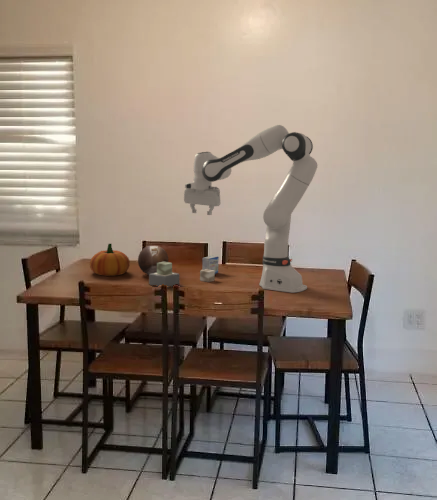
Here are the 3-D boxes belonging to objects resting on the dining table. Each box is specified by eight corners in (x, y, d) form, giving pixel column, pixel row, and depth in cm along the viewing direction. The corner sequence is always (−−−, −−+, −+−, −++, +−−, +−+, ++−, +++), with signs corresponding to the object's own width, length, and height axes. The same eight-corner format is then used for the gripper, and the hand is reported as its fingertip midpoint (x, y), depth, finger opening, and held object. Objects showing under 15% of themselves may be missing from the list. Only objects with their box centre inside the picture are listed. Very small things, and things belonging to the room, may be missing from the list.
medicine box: (208, 275, 306) (209, 258, 305) (202, 274, 309) (202, 257, 307) (218, 273, 313) (218, 256, 311) (211, 271, 315) (212, 255, 314)
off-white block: (214, 280, 296) (214, 270, 295) (208, 282, 292) (208, 272, 291) (206, 278, 299) (206, 269, 298) (200, 280, 295) (200, 270, 294)
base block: (179, 284, 287) (179, 273, 286) (165, 288, 279) (165, 276, 278) (163, 280, 293) (163, 270, 292) (149, 284, 285) (149, 273, 284)
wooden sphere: (144, 279, 294) (144, 248, 292) (133, 273, 308) (133, 243, 305) (172, 277, 301) (173, 247, 298) (161, 270, 314) (161, 242, 312)
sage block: (172, 273, 285) (172, 262, 284) (164, 275, 281) (165, 264, 280) (163, 271, 288) (164, 261, 287) (156, 273, 284) (156, 263, 283)
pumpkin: (100, 279, 292) (100, 248, 289) (83, 272, 307) (83, 242, 304) (136, 275, 303) (136, 245, 301) (118, 268, 318) (118, 239, 316)
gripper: (223, 186, 293) (222, 215, 295) (190, 183, 305) (189, 211, 307) (215, 187, 288) (214, 216, 290) (182, 184, 300) (181, 212, 302)
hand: (201, 214), depth 299 cm, fingers open, 8 cm apart
